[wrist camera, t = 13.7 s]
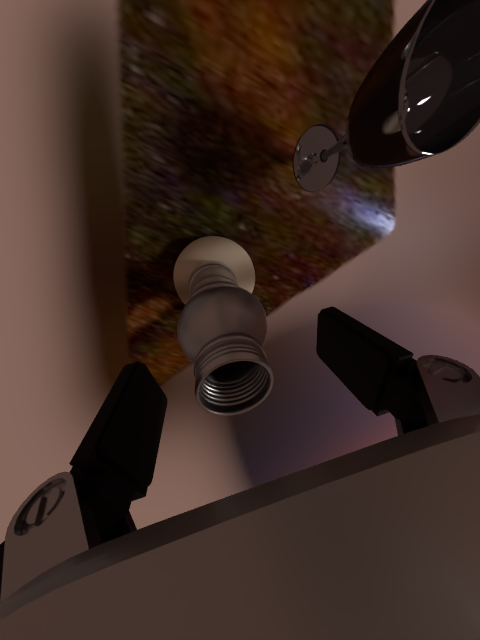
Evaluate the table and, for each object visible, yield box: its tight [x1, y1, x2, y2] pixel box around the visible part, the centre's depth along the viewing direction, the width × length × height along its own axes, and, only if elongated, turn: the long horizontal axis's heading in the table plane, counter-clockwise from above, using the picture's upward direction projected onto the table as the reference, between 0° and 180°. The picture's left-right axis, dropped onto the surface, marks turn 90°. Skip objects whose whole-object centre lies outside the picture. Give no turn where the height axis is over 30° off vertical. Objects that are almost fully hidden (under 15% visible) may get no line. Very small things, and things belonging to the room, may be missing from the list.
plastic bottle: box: [177, 260, 274, 416], centre depth 16 cm, size 6×7×20 cm
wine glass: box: [293, 0, 480, 192], centre depth 17 cm, size 8×8×15 cm
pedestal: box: [173, 236, 255, 305], centre depth 27 cm, size 12×12×3 cm
